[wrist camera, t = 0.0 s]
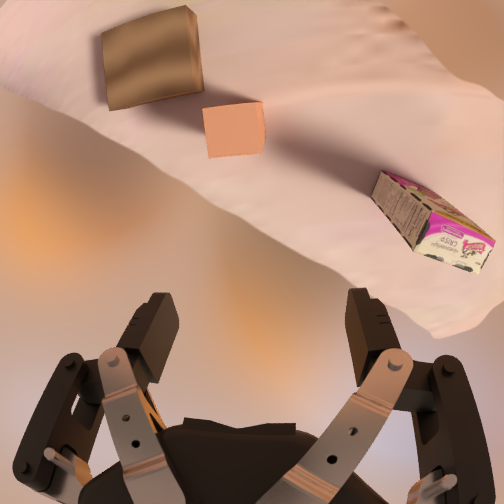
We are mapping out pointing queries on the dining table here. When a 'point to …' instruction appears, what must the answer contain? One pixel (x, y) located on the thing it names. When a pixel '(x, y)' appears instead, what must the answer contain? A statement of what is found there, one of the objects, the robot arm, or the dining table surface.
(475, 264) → the candy bar box
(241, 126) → the terracotta block
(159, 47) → the walnut block
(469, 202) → the dining table surface
